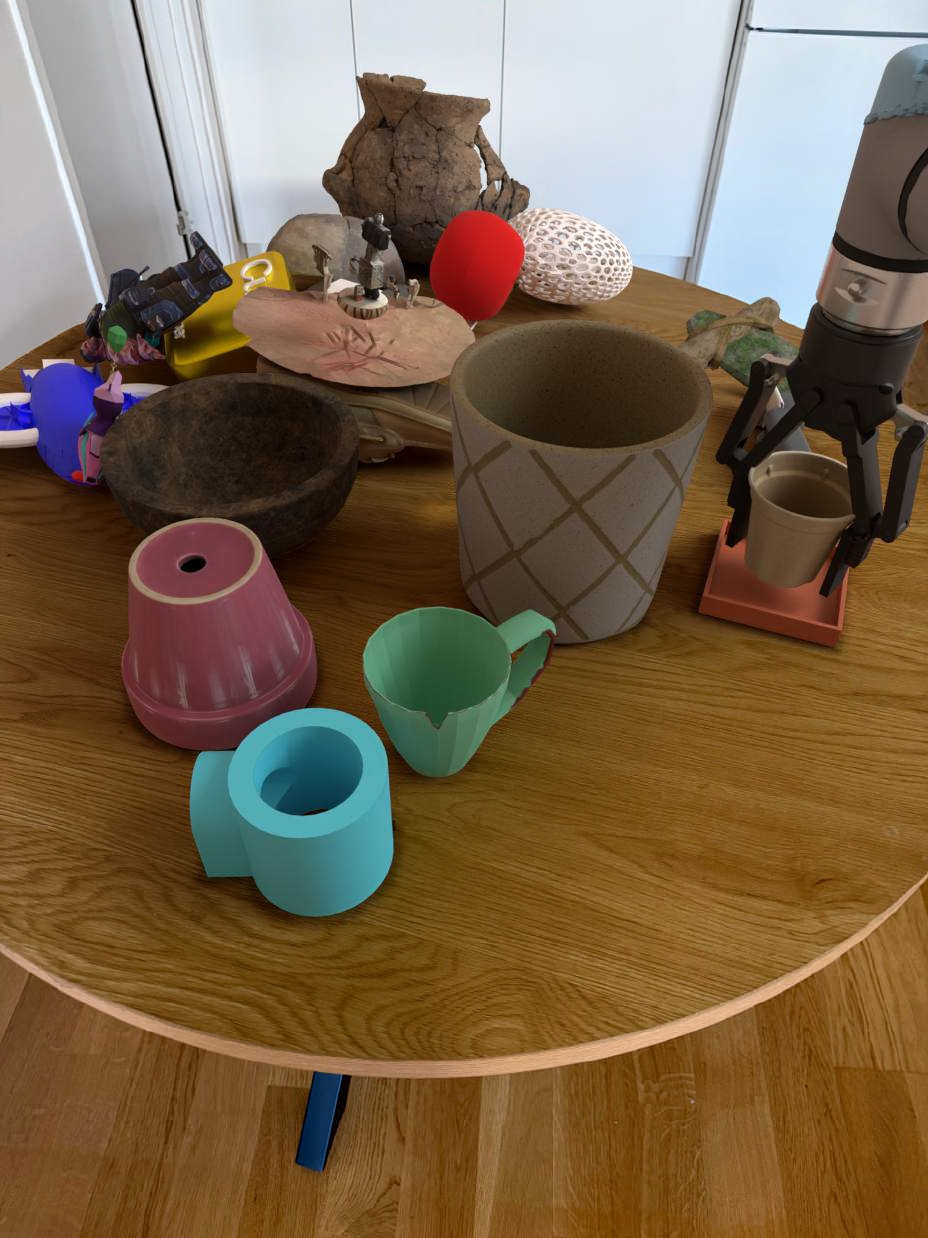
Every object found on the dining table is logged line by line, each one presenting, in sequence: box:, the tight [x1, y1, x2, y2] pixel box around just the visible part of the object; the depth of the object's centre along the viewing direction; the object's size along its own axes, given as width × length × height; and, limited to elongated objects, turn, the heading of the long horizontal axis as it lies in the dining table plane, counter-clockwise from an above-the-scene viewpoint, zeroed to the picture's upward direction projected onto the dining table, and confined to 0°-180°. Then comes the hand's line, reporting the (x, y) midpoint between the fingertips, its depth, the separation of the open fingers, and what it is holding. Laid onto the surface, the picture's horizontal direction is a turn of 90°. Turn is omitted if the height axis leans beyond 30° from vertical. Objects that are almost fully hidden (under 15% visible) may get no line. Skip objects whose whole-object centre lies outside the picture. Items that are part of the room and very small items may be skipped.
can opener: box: [755, 386, 813, 453], centre depth 93 cm, size 19×6×5 cm, turn 176°
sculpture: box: [233, 213, 476, 387], centre depth 89 cm, size 25×24×16 cm
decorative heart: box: [508, 207, 634, 306], centre depth 115 cm, size 18×11×17 cm
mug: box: [361, 606, 556, 779], centre depth 64 cm, size 15×10×10 cm
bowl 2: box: [265, 212, 406, 288], centre depth 113 cm, size 18×18×8 cm
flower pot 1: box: [120, 518, 318, 751], centre depth 67 cm, size 14×14×13 cm
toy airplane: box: [0, 358, 170, 487], centre depth 93 cm, size 24×25×5 cm
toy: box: [78, 326, 128, 486], centre depth 82 cm, size 16×4×15 cm, turn 10°
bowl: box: [99, 373, 360, 560], centre depth 81 cm, size 22×22×10 cm
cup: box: [189, 707, 394, 918], centre depth 57 cm, size 12×10×9 cm
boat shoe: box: [256, 355, 453, 464], centre depth 92 cm, size 9×25×8 cm, turn 78°
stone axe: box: [676, 296, 799, 395], centre depth 104 cm, size 26×5×30 cm
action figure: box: [78, 230, 233, 366], centre depth 98 cm, size 20×7×18 cm
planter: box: [449, 318, 714, 645], centre depth 73 cm, size 19×19×20 cm
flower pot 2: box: [744, 451, 855, 588], centre depth 75 cm, size 9×9×9 cm
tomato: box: [429, 210, 528, 322], centre depth 106 cm, size 12×12×10 cm
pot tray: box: [697, 517, 850, 648], centre depth 79 cm, size 11×11×2 cm
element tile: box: [163, 251, 297, 384], centre depth 103 cm, size 15×15×5 cm
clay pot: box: [321, 71, 531, 266], centre depth 120 cm, size 25×24×22 cm
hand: (782, 562), depth 78 cm, fingers closed on flower pot 2, 8 cm apart
